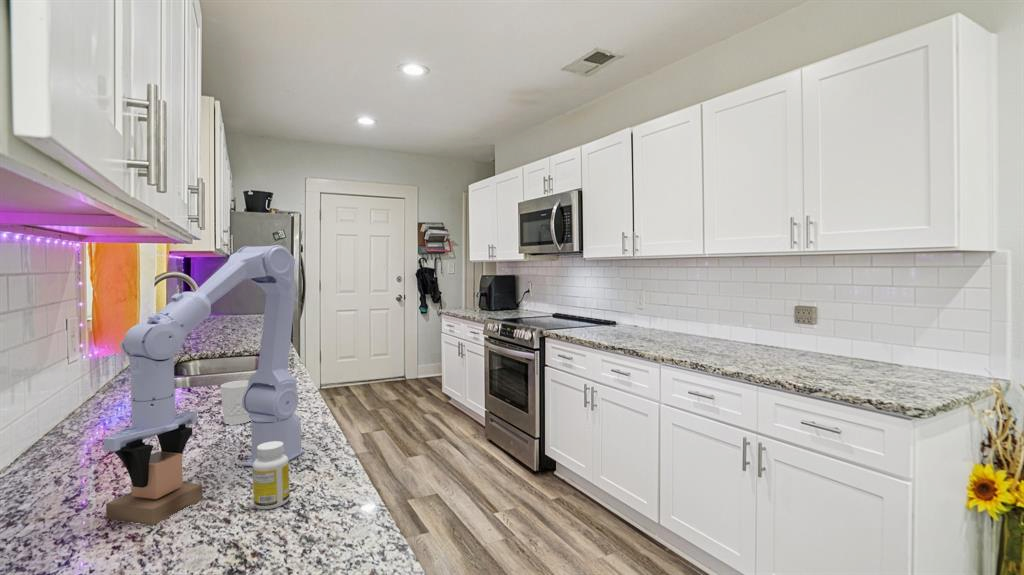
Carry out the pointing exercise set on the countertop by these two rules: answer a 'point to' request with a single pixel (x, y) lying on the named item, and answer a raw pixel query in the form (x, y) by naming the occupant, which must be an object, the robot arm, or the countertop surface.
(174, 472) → the terracotta pot
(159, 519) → the walnut block
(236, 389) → the white cup
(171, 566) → the countertop surface
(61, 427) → the countertop surface
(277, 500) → the supplement bottle
